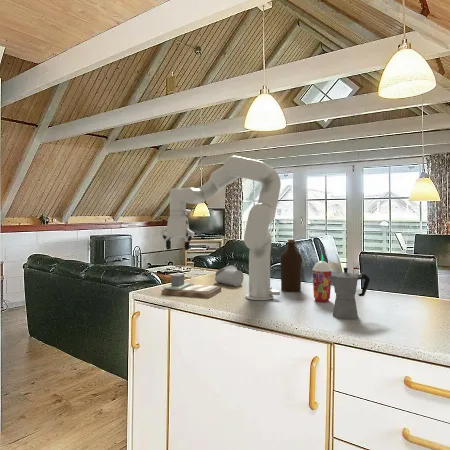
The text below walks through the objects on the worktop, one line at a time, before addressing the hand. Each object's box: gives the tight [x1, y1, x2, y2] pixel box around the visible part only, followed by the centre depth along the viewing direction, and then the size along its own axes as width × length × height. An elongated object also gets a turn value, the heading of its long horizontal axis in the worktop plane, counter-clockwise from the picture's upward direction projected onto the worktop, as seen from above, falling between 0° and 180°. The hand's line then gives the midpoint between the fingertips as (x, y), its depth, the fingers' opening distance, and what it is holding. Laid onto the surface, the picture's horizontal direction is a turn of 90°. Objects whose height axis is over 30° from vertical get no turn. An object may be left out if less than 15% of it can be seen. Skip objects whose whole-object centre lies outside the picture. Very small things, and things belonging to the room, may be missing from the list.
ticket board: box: [161, 283, 222, 299], centre depth 178 cm, size 24×16×3 cm, turn 71°
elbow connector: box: [214, 265, 245, 287], centre depth 205 cm, size 18×11×20 cm
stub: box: [163, 273, 192, 290], centre depth 181 cm, size 8×13×6 cm, turn 161°
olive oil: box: [279, 239, 303, 293], centre depth 184 cm, size 11×11×25 cm
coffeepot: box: [327, 267, 371, 320], centre depth 137 cm, size 15×9×18 cm, turn 90°
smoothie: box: [311, 254, 333, 303], centre depth 162 cm, size 8×8×20 cm
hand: (177, 249), depth 180 cm, fingers open, 9 cm apart
